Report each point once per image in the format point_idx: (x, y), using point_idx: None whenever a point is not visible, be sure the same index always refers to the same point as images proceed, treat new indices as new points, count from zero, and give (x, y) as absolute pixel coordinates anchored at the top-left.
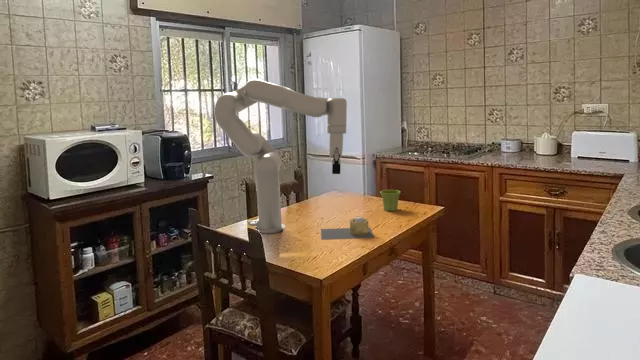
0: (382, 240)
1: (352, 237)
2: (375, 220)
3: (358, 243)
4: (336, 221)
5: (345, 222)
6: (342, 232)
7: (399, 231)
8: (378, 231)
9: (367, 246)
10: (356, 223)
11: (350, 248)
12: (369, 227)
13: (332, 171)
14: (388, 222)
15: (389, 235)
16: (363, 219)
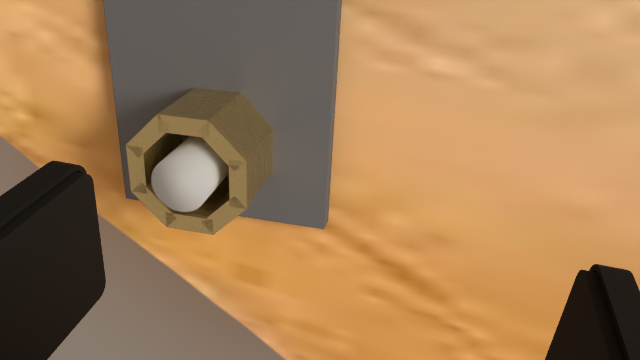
0: (141, 228)
1: (131, 86)
2: (540, 304)
3: (93, 103)
4: (622, 47)
5: (563, 111)
6: (236, 42)
7: (281, 343)
8: (297, 254)
9: (49, 137)
10: (126, 146)
11: (12, 44)
12: (322, 225)
13: (29, 182)
14: (467, 352)
15: (220, 281)
16: (216, 210)
